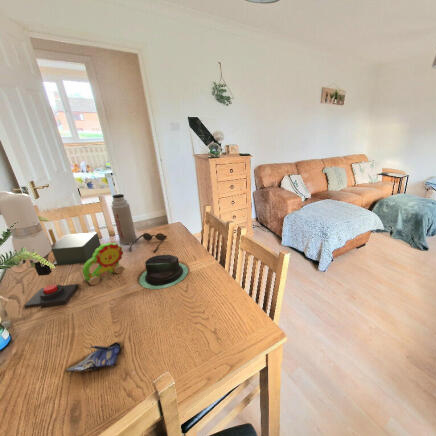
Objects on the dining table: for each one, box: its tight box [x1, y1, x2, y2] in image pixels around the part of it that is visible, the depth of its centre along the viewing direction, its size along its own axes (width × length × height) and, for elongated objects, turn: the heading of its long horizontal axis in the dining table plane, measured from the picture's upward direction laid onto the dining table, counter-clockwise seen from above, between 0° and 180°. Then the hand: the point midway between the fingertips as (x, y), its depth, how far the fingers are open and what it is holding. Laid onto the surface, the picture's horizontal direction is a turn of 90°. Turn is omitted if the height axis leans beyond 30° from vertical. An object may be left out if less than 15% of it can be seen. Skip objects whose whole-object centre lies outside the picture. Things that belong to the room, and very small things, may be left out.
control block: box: [23, 283, 80, 309], centre depth 93 cm, size 12×10×4 cm
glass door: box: [47, 228, 57, 244], centre depth 120 cm, size 3×7×14 cm, turn 17°
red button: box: [43, 284, 58, 294], centre depth 92 cm, size 4×4×2 cm
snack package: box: [65, 342, 122, 373], centre depth 70 cm, size 12×6×12 cm
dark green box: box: [50, 231, 102, 267], centre depth 120 cm, size 14×16×9 cm
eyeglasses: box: [129, 232, 168, 253], centre depth 133 cm, size 15×15×5 cm
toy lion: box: [82, 242, 124, 286], centre depth 105 cm, size 16×5×15 cm, turn 155°
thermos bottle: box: [111, 193, 138, 246], centre depth 132 cm, size 8×8×28 cm
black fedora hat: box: [138, 253, 189, 290], centre depth 110 cm, size 15×19×20 cm
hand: (45, 273), depth 89 cm, fingers closed
